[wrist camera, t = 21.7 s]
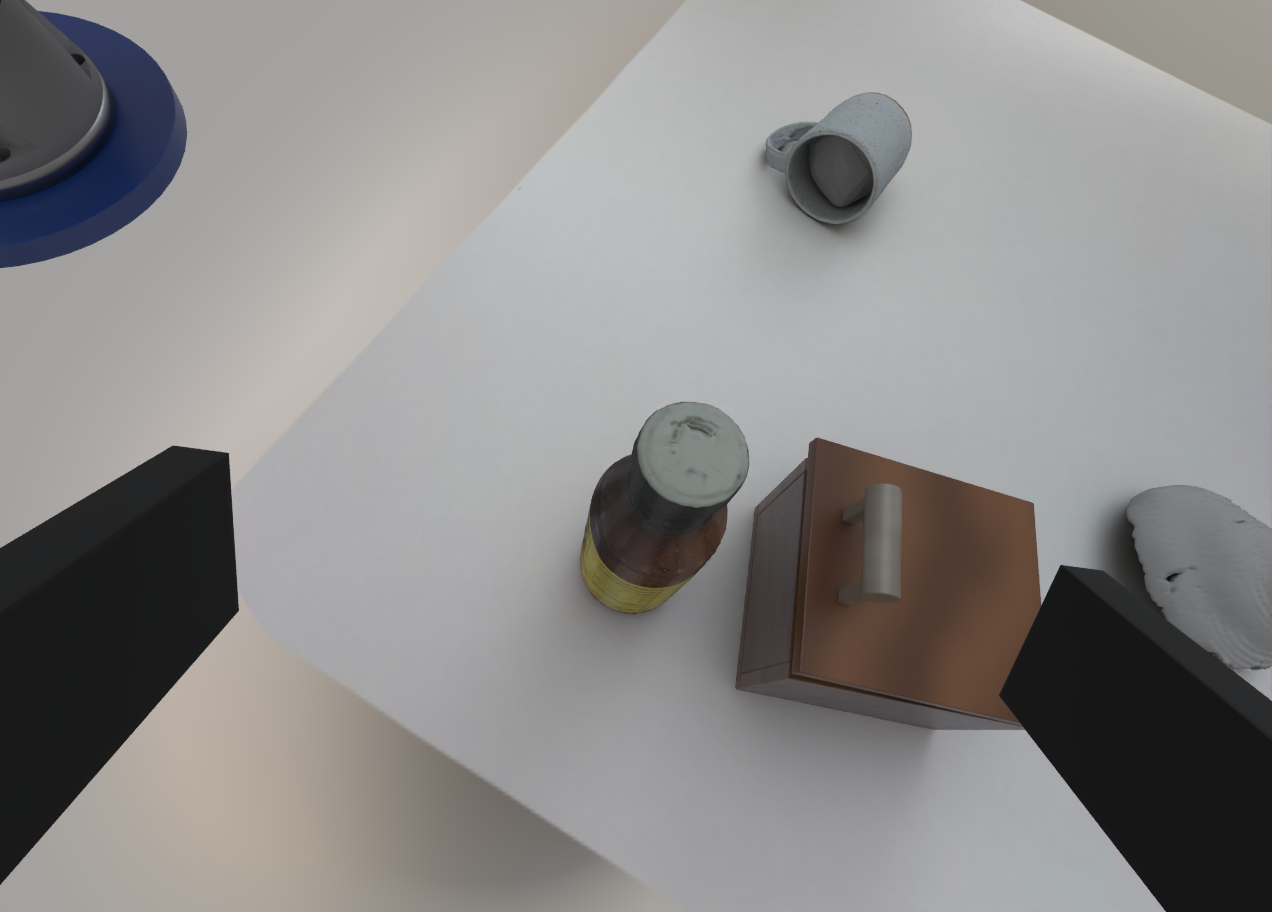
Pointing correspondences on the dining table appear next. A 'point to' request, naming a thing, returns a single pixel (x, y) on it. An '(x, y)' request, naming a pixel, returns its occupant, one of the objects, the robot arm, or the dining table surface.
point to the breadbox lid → (912, 582)
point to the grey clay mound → (1208, 570)
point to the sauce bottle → (663, 507)
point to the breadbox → (774, 626)
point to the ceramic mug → (843, 156)
